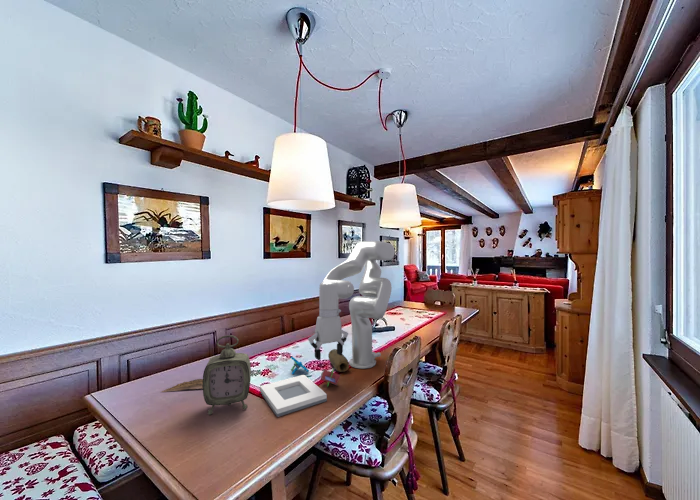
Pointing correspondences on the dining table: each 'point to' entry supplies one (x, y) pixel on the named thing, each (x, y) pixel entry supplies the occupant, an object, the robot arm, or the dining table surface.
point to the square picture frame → (292, 395)
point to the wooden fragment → (187, 385)
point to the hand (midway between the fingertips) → (329, 356)
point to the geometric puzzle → (330, 377)
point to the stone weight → (338, 361)
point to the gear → (298, 365)
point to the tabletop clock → (227, 377)
